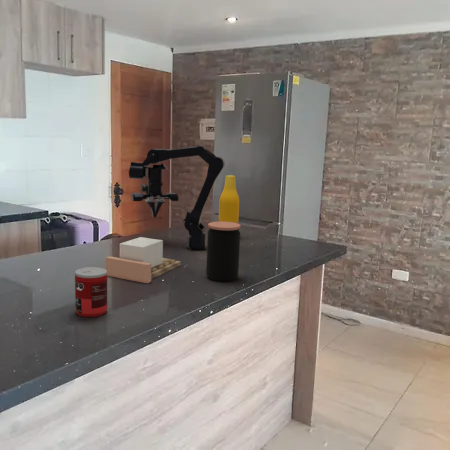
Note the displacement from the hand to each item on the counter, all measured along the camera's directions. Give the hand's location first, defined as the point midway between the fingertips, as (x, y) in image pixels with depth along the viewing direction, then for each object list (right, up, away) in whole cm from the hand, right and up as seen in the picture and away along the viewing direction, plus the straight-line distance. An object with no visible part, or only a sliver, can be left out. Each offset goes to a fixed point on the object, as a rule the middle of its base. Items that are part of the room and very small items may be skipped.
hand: (154, 217), depth 192 cm
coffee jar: (+28, -21, -37) cm, 51 cm away
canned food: (-6, -26, -71) cm, 76 cm away
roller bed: (+3, -18, -32) cm, 37 cm away
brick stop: (-2, -20, -43) cm, 47 cm away
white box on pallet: (+1, -17, -36) cm, 40 cm away
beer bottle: (+30, -10, +22) cm, 39 cm away
